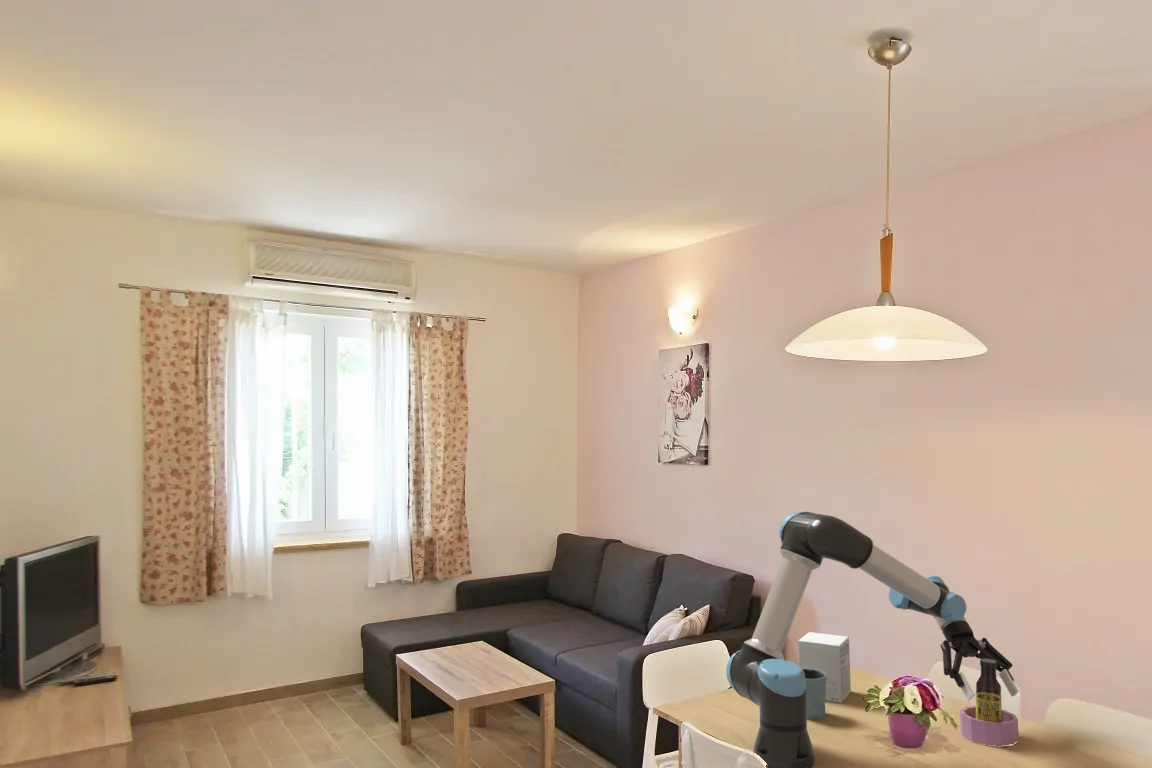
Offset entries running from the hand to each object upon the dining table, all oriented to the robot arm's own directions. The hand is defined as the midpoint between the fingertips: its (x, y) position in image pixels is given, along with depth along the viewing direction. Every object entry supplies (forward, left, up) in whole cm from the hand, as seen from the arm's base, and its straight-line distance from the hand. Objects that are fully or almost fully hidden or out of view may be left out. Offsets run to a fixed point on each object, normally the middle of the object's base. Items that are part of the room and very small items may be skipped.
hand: (993, 695), depth 215 cm
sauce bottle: (+2, +1, -11) cm, 12 cm away
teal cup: (+6, +48, -12) cm, 50 cm away
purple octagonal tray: (+2, +1, -12) cm, 12 cm away
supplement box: (+27, +44, -12) cm, 53 cm away
